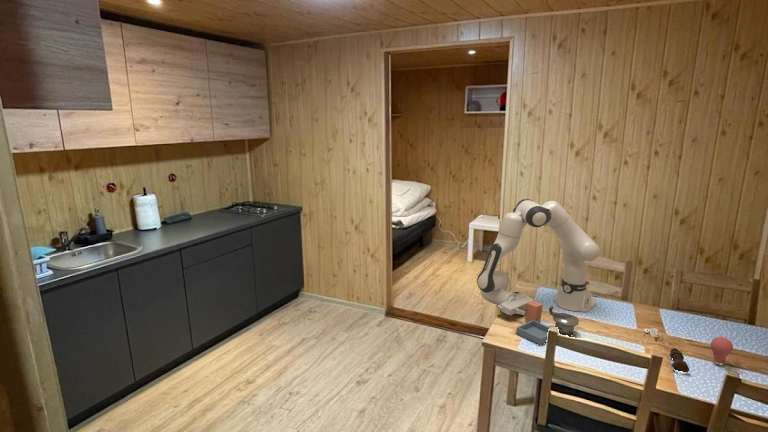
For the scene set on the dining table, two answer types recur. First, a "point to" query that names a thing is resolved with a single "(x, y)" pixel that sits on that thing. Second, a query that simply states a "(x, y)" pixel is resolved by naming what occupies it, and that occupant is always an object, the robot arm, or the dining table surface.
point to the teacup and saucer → (652, 331)
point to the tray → (533, 332)
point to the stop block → (534, 311)
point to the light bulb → (721, 348)
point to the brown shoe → (678, 360)
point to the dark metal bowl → (564, 322)
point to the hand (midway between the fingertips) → (531, 311)
